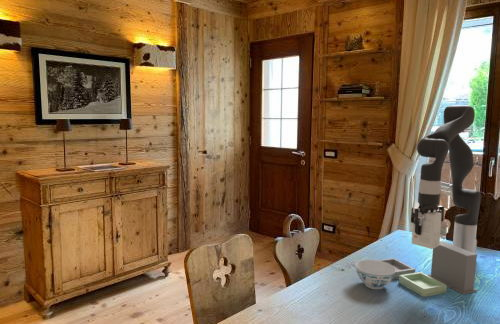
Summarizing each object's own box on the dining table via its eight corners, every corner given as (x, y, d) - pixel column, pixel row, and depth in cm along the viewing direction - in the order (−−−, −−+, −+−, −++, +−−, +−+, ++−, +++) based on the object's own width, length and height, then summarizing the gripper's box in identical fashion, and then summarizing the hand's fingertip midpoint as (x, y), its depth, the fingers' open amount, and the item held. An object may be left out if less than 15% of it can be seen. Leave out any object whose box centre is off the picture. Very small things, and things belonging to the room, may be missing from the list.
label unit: (440, 274, 164) (443, 240, 162) (476, 291, 148) (480, 254, 146) (427, 276, 161) (430, 242, 160) (462, 294, 146) (466, 256, 144)
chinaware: (396, 282, 155) (397, 263, 154) (392, 297, 142) (394, 277, 141) (357, 275, 161) (358, 257, 160) (351, 289, 148) (352, 270, 147)
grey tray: (393, 264, 174) (393, 258, 173) (414, 275, 161) (415, 269, 161) (373, 267, 170) (373, 260, 169) (393, 279, 158) (394, 272, 157)
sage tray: (420, 278, 159) (420, 271, 158) (446, 292, 147) (446, 285, 146) (398, 282, 155) (399, 275, 155) (423, 296, 143) (424, 289, 142)
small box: (439, 246, 148) (442, 212, 146) (431, 249, 144) (434, 215, 142) (419, 240, 154) (421, 208, 152) (410, 243, 150) (413, 210, 148)
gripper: (436, 188, 152) (432, 229, 154) (407, 190, 147) (404, 232, 149) (452, 192, 145) (448, 234, 147) (422, 194, 140) (418, 238, 142)
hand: (426, 233), depth 148 cm, fingers closed on small box, 7 cm apart
